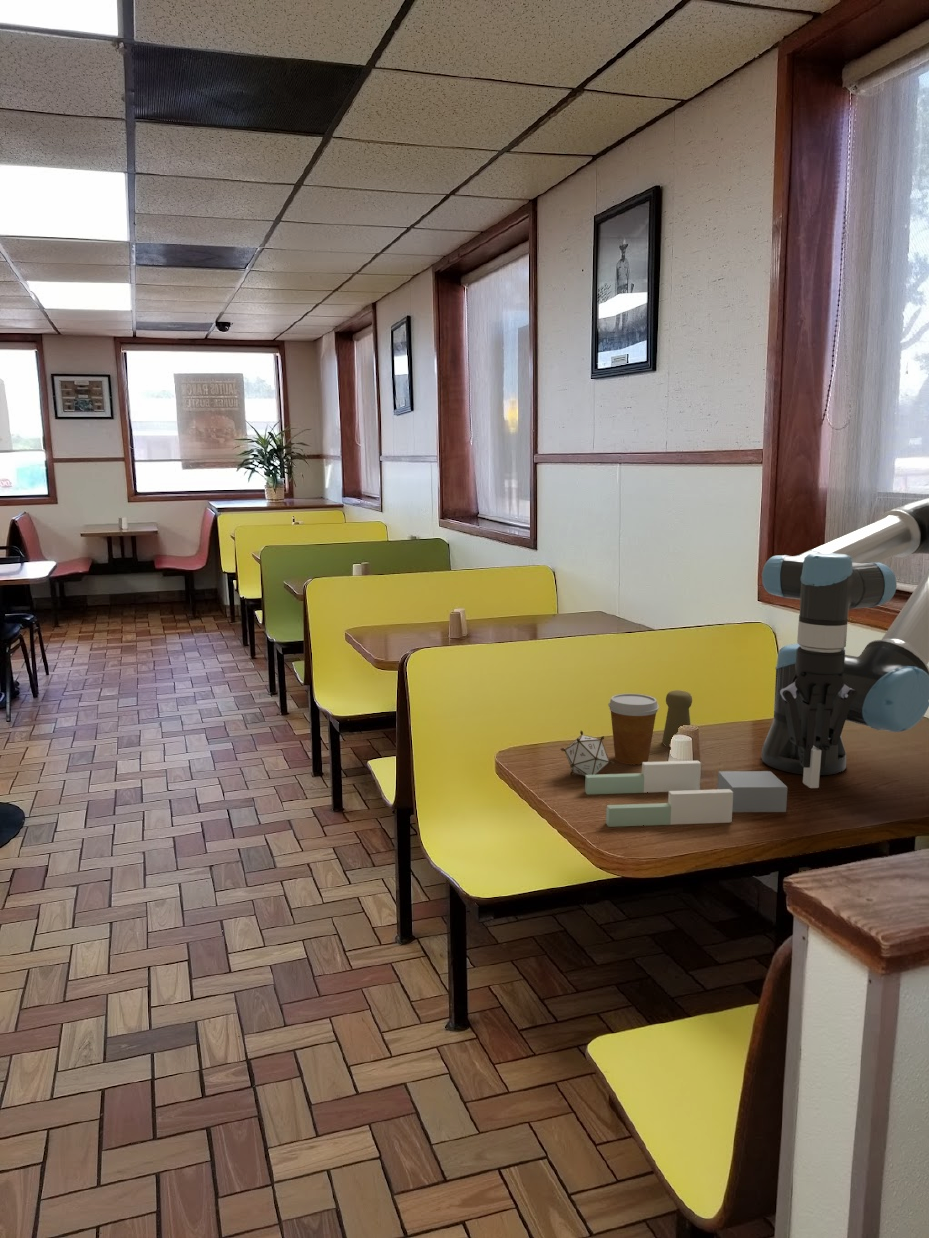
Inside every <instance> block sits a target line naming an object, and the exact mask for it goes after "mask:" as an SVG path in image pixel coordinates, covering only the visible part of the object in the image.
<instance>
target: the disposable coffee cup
mask: <svg viewBox="0 0 929 1238" xmlns="http://www.w3.org/2000/svg"><path fill="white" fill-rule="evenodd" d="M607 705H608V707H609V710H610V715H611V716H610V718H611V726H612V727H611V729H612V738H613V739H612V740H613V750H614V759H615V761H617V762H618V763H621V764H625V765H632V764H633V765H635V764H638V765H642V762H647V761H648V762H649V758H650V752H651V745H652V742H653V741H652V740H653V734H654V728H655V724H656V716H657V712H658V711H659V708H660V705H659V704H658V701H657V698H655V697H653V696H651V695H646V694H641V693H621V694H615V695H612V696H611V697H610V701H609V703H608V704H607ZM633 765H632V766H633ZM635 766H636V765H635Z"/></svg>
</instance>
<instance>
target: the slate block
mask: <svg viewBox="0 0 929 1238" xmlns="http://www.w3.org/2000/svg"><path fill="white" fill-rule="evenodd" d="M717 774H718V775H717V789H730V790H731V791H732V792H733V807H732V813H786V812H787V803H788V802H787V801H788V789H789V788H788V786H787V785H786V784H785V783H783V781H782V780H780V778H779V777H777V776H776V775H775V774H774V773H773V772H772V771H771V770H763V771H762V770H761V771H760V770H757V771H756V770H755V771H754V770H750V771H749V770H746V771H745V770H744V771H743V770H740V771H738V770H737V771H734V770H732V771H731V770H728V771H723V770H722V771H717Z"/></svg>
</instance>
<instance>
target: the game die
mask: <svg viewBox="0 0 929 1238" xmlns="http://www.w3.org/2000/svg"><path fill="white" fill-rule="evenodd" d="M579 733H580V735H579V736H578V737H577V738H576V739H575V740H574V741H572V743H570V744H569V745H568V746H567V747H566V748H563V747H561V748H560V750H561V751H562V752H565V755H566V756H565V757H566V759H567V762H568V764H569V768H570V770H571V771H570V773H569V776H573V775H574V774H577V775H581V776H584V777H585V775H598V773H600V771H602V770H603V769H604V768H605V767H606V766H607V765H609V764H610V765H613V764H614V761H613V760H609V756H608V753H607V751H606V748H605V745H604V742H603V740H604V739H605V736H603V735H602V736H601V737H600V738H598V737H594V736H590V735H586V734H584V731H583V730H580V732H579Z"/></svg>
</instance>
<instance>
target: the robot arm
mask: <svg viewBox="0 0 929 1238" xmlns="http://www.w3.org/2000/svg"><path fill="white" fill-rule="evenodd" d="M913 554H914V555H915V554H924V555H925V554H926V555H927V554H928V555H929V497H924V498H920V499H918V500H915V501H911V502H908V503H905V504H903V505H900V506H897V507H894V508H893V509H890V510H888V511H886V512H883V513H882V514H881V515H880V516H879V517H878V518H877V520H876V521H874V522H873V523H871V524H867V525H866V526H864V527H863V526H862V527H861V528H859V529H856V530H854V531H851V532H849V533H846V534H845V535H842V536H840V537H838V538H835V539H832V540H830V541H828V542H826V543H824V544H821V545H819V546H816V547H815V548H812V549H809V550H807V551H804V552H802V553H800V554H797V555H793V556H792V555H788V554H784V555H783V554H782V555H776V554H775V555H773V556H771V557H770V558H768V559H767V561H766V562H765V563H764V565H763V568H762V572H761V577H762V579H761V580H762V582H761V583H762V586H763V588H764V589H765V591H766V592H767V593H768V594H769V595H772V596H777V597H782V598H783V599H792V600H793V599H795V600H799V616H798V625H797V626H798V627H797V638H796V639H797V640H796V642H797V643H793V644H787V645H784V646H782V647H780V649H779V651H778V653H777V660H776V666H775V684H774V687H775V688H774V704H773V718H772V719H773V720H772V723H771V725H770V728H769V730H768V733H767V735H766V737H765V740H764V742H763V744H762V746H761V761H762V763H764V764H765V765H766V766H769V767H771V768H773V769H776V770H779V771H782V772H786V773H791V774H798V775H802V783H803V785H805V786H806V787H808V788H810V789H818V788H820V776H827V775H835V774H839V772H840V773H842V772H844V771H845V770H846V768H847V753H846V750H845V746H844V743H843V737H842V732H843V729H844V726H845V723H846V721H847V722H849V723H854V724H859V725H863V726H866V727H870V728H871V729H873V730H877V731H881V730H882V731H887V732H888V731H889V732H894V733H898V732H905V731H909V730H910V729H911V728H913V727H914V726H916V725H917V724H918V723H919V722H921V720H922V719H923V717H924V716H925V714H926V713H927V711H928V709H929V666H928V664H929V569H928V570H927V571H926V573H925V574H924V576H923V578H922V579H921V580H920V581H919V582H918V584H917V586H916V588H915V589H914V590H913V592H912V594H910V597H909V598H908V599H907V601H906V602H905V604H904V605H903V607H902V609H901V610H900V612H898V615H897V616H896V617H895V618H894V620H893V622H892V623H891V624H890V626H889V628H888V629H887V630H886V632H885V634H884V635H883V636H882V639H875V640H871V641H870V642H868V644H866V646H865V647H864V649H863V650H862V651H861V653H860V654H859V656H854V655H849V654H848V655H847V654H846V649H845V648H846V647H847V635H848V634H847V633H848V623H849V622H848V620H849V611H850V610H854V609H855V610H856V609H864V608H865V609H867V608H868V609H873V608H876V607H878V606H882V605H885V604H887V603H888V602H889V601H891V600H892V599H893V597H894V595H895V594H896V591H897V577H896V575H895V573H894V571H893V570H892V569H891V568H890V566H888V565H886V564H884V563H883V562H885V561H887V560H889V559H891V558H893V557H894V558H906V557H908V556H911V555H913ZM841 771H842V772H841Z"/></svg>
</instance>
